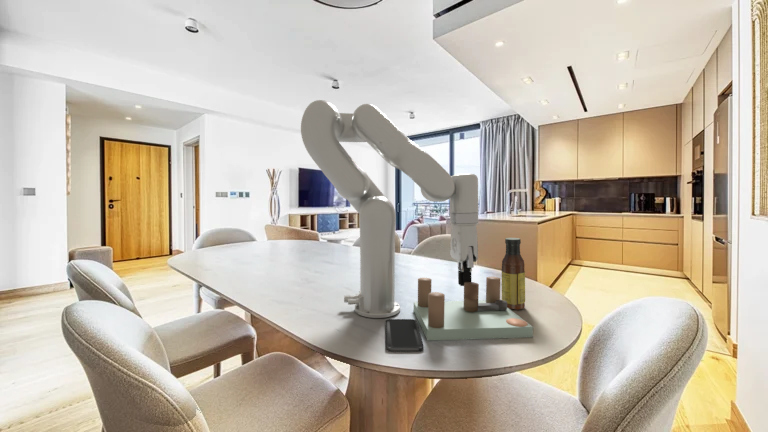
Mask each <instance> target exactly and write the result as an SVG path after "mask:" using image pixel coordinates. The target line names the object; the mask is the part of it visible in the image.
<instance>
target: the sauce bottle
mask: <svg viewBox="0 0 768 432" xmlns="http://www.w3.org/2000/svg"><path fill="white" fill-rule="evenodd" d="M504 239H505V241H504V243H505V255H504V256H503V258H502V260H501V300H504V301H506V302H507V308H509V309H510V310H516V311H519V310H523V309H525V308H526V306H525V305H526V270H525V260H524V258H523V257H522V255H521V243H522V242H521V238H520V237H519V238H518V237H506V238H504Z"/></svg>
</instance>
